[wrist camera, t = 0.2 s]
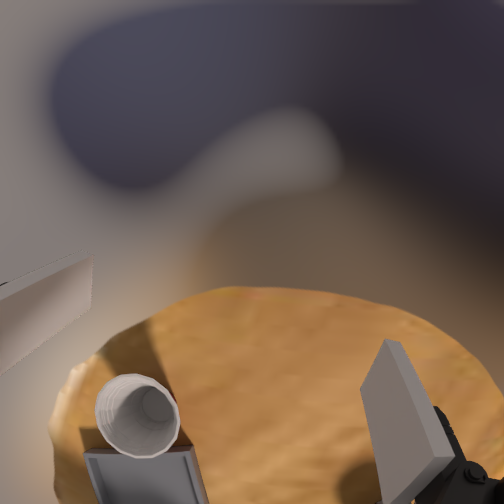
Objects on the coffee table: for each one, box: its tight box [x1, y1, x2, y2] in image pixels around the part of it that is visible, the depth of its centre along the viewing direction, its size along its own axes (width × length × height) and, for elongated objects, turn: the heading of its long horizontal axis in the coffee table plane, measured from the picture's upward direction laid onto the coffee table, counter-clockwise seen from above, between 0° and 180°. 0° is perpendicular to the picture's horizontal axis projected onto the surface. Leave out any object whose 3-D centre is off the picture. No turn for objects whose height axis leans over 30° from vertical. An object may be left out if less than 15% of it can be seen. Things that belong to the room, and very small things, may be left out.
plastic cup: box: [95, 373, 180, 458], centre depth 37 cm, size 11×11×12 cm
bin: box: [83, 445, 209, 504], centre depth 36 cm, size 18×18×4 cm
